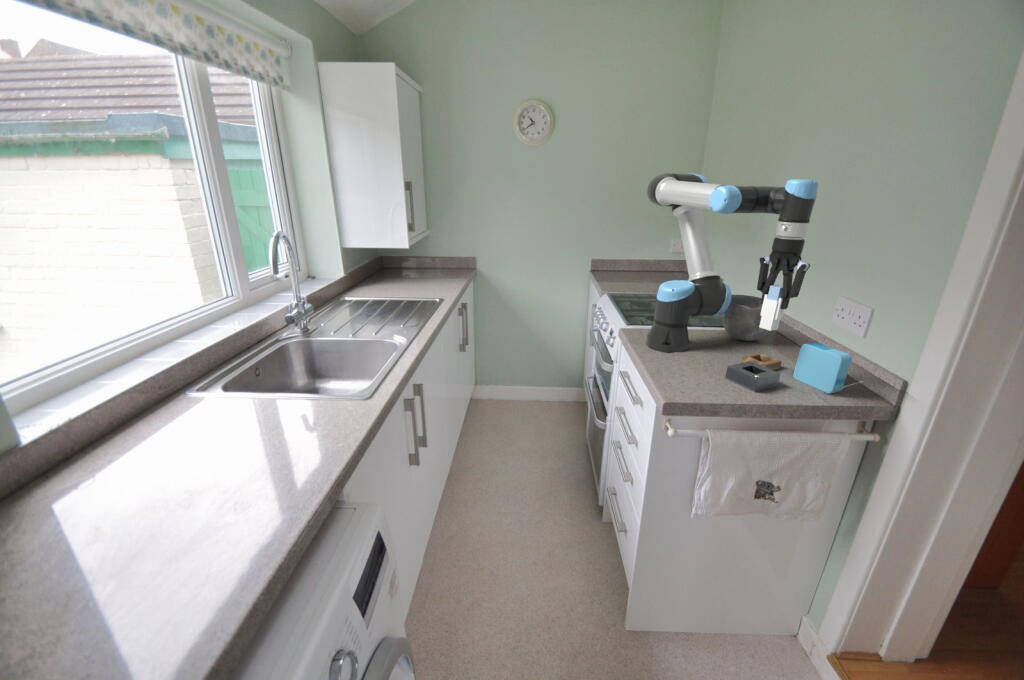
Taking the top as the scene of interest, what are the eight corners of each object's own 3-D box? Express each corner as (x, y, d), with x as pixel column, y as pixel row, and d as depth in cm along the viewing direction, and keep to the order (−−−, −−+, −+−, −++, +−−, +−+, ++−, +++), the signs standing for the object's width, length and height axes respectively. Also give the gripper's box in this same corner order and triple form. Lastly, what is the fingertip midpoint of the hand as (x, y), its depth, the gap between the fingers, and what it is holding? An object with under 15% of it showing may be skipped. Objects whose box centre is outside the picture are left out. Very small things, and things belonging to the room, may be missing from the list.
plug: (759, 327, 132) (768, 285, 127) (766, 325, 133) (775, 284, 129) (770, 330, 129) (780, 288, 124) (777, 329, 130) (788, 286, 126)
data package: (841, 393, 124) (853, 355, 120) (830, 396, 123) (843, 357, 119) (801, 376, 135) (812, 340, 131) (791, 378, 133) (801, 342, 129)
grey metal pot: (707, 336, 168) (714, 299, 163) (727, 327, 179) (734, 292, 174) (755, 349, 156) (765, 309, 150) (773, 339, 167) (783, 301, 161)
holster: (740, 364, 143) (742, 356, 142) (757, 360, 146) (758, 352, 145) (763, 373, 136) (765, 365, 135) (779, 369, 139) (781, 361, 138)
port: (724, 379, 132) (727, 364, 130) (746, 374, 136) (750, 359, 134) (754, 393, 123) (758, 378, 121) (777, 387, 127) (781, 372, 126)
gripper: (753, 234, 127) (737, 311, 135) (813, 242, 113) (791, 326, 121) (769, 233, 130) (752, 308, 138) (828, 240, 117) (806, 323, 125)
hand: (770, 316), depth 130 cm, fingers closed on plug, 4 cm apart
